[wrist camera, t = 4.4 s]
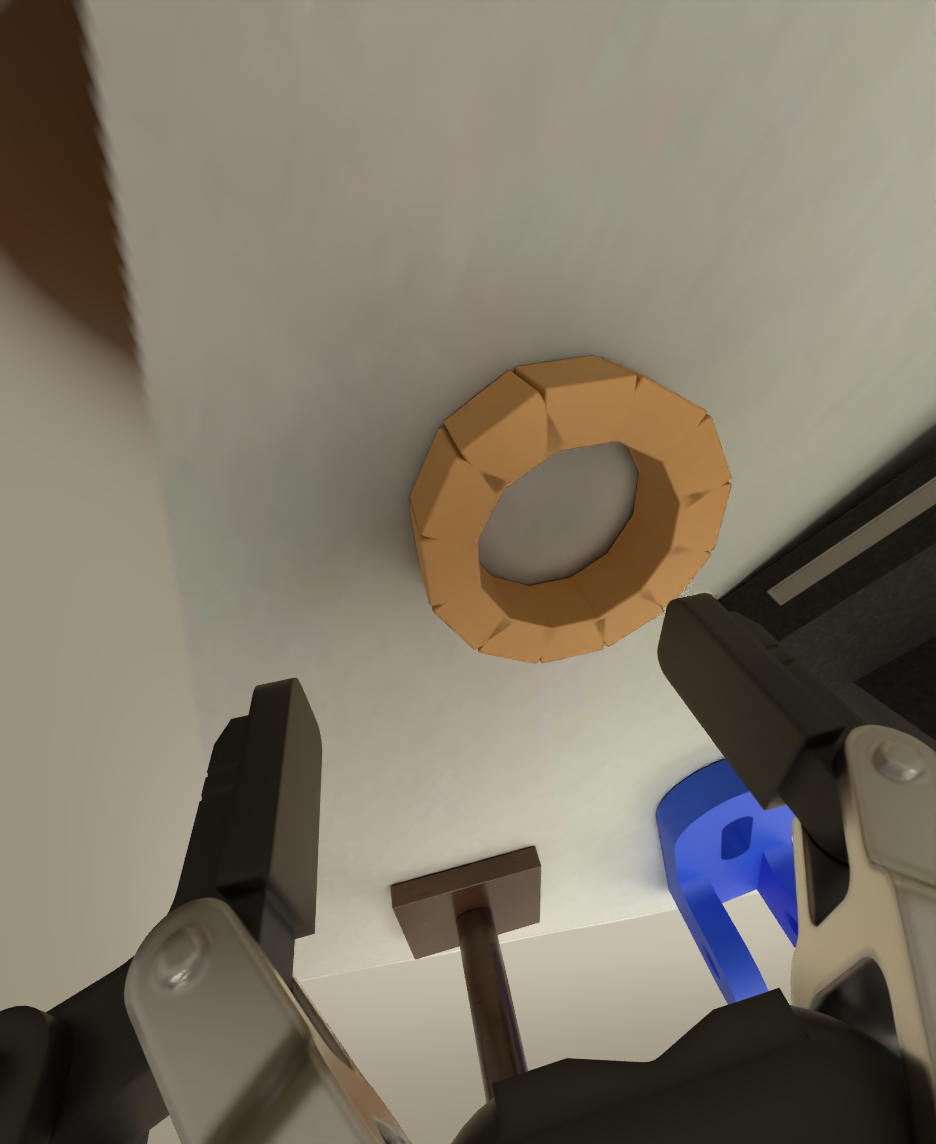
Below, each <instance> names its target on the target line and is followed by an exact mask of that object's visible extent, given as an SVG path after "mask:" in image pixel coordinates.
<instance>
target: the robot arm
mask: <svg viewBox="0 0 936 1144" xmlns="http://www.w3.org/2000/svg"><path fill="white" fill-rule="evenodd" d="M657 653H658V660H659V664H660V667H661V669H662V671H663V673H664V675H665V676H666V678H667V679H668V681H669V682H670V683H671V685H672V686H673V687H674V689H675V690H676V691H677V693H678V694H679V696H680V697H681V698H682V700H683V701H684V702H685V704H686V705H687V706H688V708H689V709H690V711H691V712H692V713H693V715H694V716H695V717H696V719H697V720H698V721H699V723H700V724H701V726H702V727H703V728H704V730H705V731H706V732H707V734H708V735H709V736H710V738H711V739H712V741H713V742H714V743H715V745H716V746H717V747H718V749H719V750H720V751H721V753H722V754H723V756H724V757H725V758H726V760H727V761H728V762H729V764H730V765H731V766H732V768H733V769H734V771H735V772H736V773H737V775H738V776H739V777H740V779H741V780H742V781H743V783H744V784H745V785H746V787H747V788H748V790H749V791H750V792H751V794H752V795H753V796H754V798H755V799H756V800H757V802H758V803H759V805H760V806H761V807H762V809H763V810H764V811H766V810H770V809H774V808H777V807H781V806H784V805H787V806H788V807H789V808H790V810H791V811H792V812H793V814H794V815H795V817H794V819H793V822H792V836H793V850H794V865H795V880H796V894H797V909H798V939H797V944H796V947H795V950H794V954H793V959H792V966H791V1004H792V1005H789V1003H788V1002H787V1000H786V998H785V997H784V995H783V993H782V991H781V990H780V988H777V989H774V990H771V991H768V992H765V993H762V994H759V995H756V996H753V997H750V998H747V999H744V1000H741V1001H738V1002H735V1003H732V1004H729V1005H726V1006H723V1007H720V1008H717V1009H714V1010H712V1011H711V1012H710V1013H709V1014H708V1015H707V1016H706V1017H704V1018H703V1019H702V1020H701V1021H700V1022H699V1023H698V1024H696V1025H695V1026H694V1027H693V1028H692V1029H691V1030H689V1031H688V1032H687V1033H686V1034H685V1035H684V1036H683V1037H681V1038H680V1039H679V1040H678V1041H677V1042H676V1043H675V1044H673V1045H672V1046H671V1047H670V1048H669V1049H668V1050H667V1051H665V1052H664V1053H663V1054H662V1055H661V1056H660V1057H658V1058H657V1059H656V1060H653V1061H650V1062H626V1061H608V1060H590V1059H572V1058H571V1059H570V1058H566V1059H563V1060H560V1061H557V1062H554V1063H552V1064H548V1065H545V1066H542V1067H539V1068H536V1069H533V1070H530V1071H527V1072H524V1073H521V1074H518V1075H515V1076H512V1077H509V1078H506V1079H503V1080H500V1081H497V1082H494V1083H492V1086H493V1092H494V1098H492V1099H491V1100H490V1101H489V1102H487V1103H486V1104H485V1105H484V1106H483V1107H482V1108H480V1109H479V1110H478V1111H477V1112H476V1114H474V1115H473V1116H472V1118H471V1119H470V1120H469V1121H468V1122H467V1123H466V1124H465V1125H464V1127H463V1128H462V1129H461V1131H460V1132H459V1133H458V1135H457V1136H456V1138H455V1139H454V1140H453V1142H452V1143H451V1144H936V750H933V749H931V748H930V747H929V746H927V745H926V744H925V743H923V742H921V741H920V740H918V739H916V738H915V737H913V736H911V735H909V734H906V733H904V732H902V731H899V730H896V729H893V728H890V727H885V726H879V725H869V724H867V723H866V722H865V721H864V720H862V719H861V718H860V717H859V716H858V715H857V714H856V713H855V712H854V711H852V710H851V709H850V708H849V707H848V706H847V705H846V704H845V703H844V702H843V701H842V700H841V699H840V698H838V697H837V696H836V695H835V694H834V693H833V692H832V691H831V690H830V689H829V688H828V687H827V686H826V685H824V684H823V683H822V682H821V681H820V680H819V679H818V678H817V677H816V676H815V675H814V674H813V673H812V672H810V671H809V670H808V669H807V668H806V667H805V666H804V665H803V664H802V663H801V662H800V661H799V662H797V661H796V660H795V657H794V656H793V655H792V654H791V653H790V652H789V651H788V650H787V649H786V648H785V647H784V646H782V647H781V646H780V645H779V642H778V641H777V640H776V639H775V638H774V637H773V636H772V635H771V634H770V633H768V632H767V631H766V630H765V629H764V628H763V627H762V626H761V625H760V624H758V623H756V622H754V621H752V620H751V619H749V618H747V617H745V616H743V615H741V614H739V613H738V612H736V611H732V612H728V611H727V610H726V609H725V608H724V607H723V606H722V605H721V604H720V603H719V602H718V601H717V600H716V599H715V598H714V597H713V596H711V595H710V594H707V593H702V594H697V595H692V596H687V597H683V598H678V599H673V600H671V601H670V602H669V603H668V605H667V608H666V613H665V617H664V622H663V626H662V631H661V635H660V640H659V644H658V652H657ZM321 767H322V743H321V735H320V731H319V727H318V724H317V721H316V719H315V716H314V714H313V712H312V709H311V707H310V705H309V702H308V700H307V698H306V695H305V693H304V691H303V688H302V686H301V684H300V682H299V680H298V679H297V678H291V679H286V680H281V681H277V682H272V683H267V684H262V685H257V686H256V687H255V689H254V691H253V696H252V701H251V706H250V711H249V715H247V716H243V717H238V718H233V719H231V720H230V722H229V723H228V725H227V726H226V728H225V729H224V731H223V732H222V734H221V735H220V737H219V738H218V740H217V741H216V743H215V744H214V747H213V751H212V755H211V759H210V763H209V767H208V771H207V773H208V777H206V778H205V782H204V786H203V790H202V801H200V802H199V806H198V810H197V814H196V818H195V822H194V826H193V830H192V833H191V838H190V842H189V845H188V849H187V853H186V857H185V861H184V865H183V869H182V873H181V877H180V881H179V885H178V889H177V892H176V896H175V898H174V901H173V904H172V906H171V908H170V910H169V912H168V914H167V916H165V917H164V918H163V919H162V920H161V921H160V922H159V923H158V924H157V925H156V926H155V927H154V928H153V929H152V930H151V932H150V933H149V934H148V935H147V936H146V938H145V939H144V941H143V942H142V944H141V945H140V947H139V949H138V950H137V952H136V954H135V956H133V957H132V958H131V959H129V960H128V961H127V962H126V963H124V964H123V965H122V966H120V967H119V968H117V969H116V970H114V971H113V972H111V973H109V974H108V975H106V976H104V977H103V978H101V979H100V980H98V981H96V982H95V983H93V984H91V985H90V986H88V987H87V988H85V989H83V990H82V991H80V992H78V993H77V994H75V995H74V996H72V997H70V998H69V999H67V1000H65V1001H64V1002H62V1003H61V1004H59V1005H57V1006H56V1007H54V1008H52V1009H51V1010H49V1011H47V1012H46V1013H45V1012H43V1011H40V1010H38V1009H36V1008H33V1007H29V1006H16V1007H12V1008H8V1009H5V1010H2V1011H0V1144H147V1140H148V1135H149V1130H150V1129H151V1128H153V1127H154V1126H155V1125H157V1124H158V1123H159V1122H161V1121H162V1120H163V1119H165V1118H166V1117H167V1116H168V1115H170V1117H171V1119H172V1122H173V1124H174V1126H175V1129H176V1131H177V1134H178V1136H179V1139H180V1141H181V1143H182V1144H412V1143H411V1141H410V1140H409V1138H408V1137H407V1135H406V1134H405V1132H404V1131H403V1129H402V1128H401V1127H400V1125H399V1124H398V1122H397V1121H396V1119H395V1118H394V1116H393V1115H392V1113H391V1112H390V1111H389V1109H388V1108H387V1106H386V1105H385V1104H384V1102H383V1101H382V1100H381V1098H380V1097H379V1096H378V1094H377V1093H376V1092H375V1090H374V1089H373V1088H372V1086H371V1085H370V1084H369V1083H368V1082H367V1080H366V1079H365V1078H364V1077H363V1075H362V1074H361V1072H360V1071H359V1069H358V1068H357V1067H356V1065H355V1064H354V1062H353V1061H352V1060H351V1058H350V1056H349V1055H348V1053H347V1052H346V1051H345V1049H344V1048H343V1046H342V1045H341V1043H340V1042H339V1040H338V1039H337V1037H336V1036H335V1034H334V1033H333V1031H332V1030H331V1028H330V1027H329V1025H328V1024H327V1023H326V1021H325V1020H324V1018H323V1017H322V1015H321V1014H320V1012H319V1011H318V1009H317V1008H316V1006H315V1005H314V1004H313V1002H312V1001H311V999H310V998H309V996H308V995H307V993H306V992H305V991H304V989H303V988H302V986H301V984H300V983H299V981H298V980H297V978H296V977H295V975H294V974H293V957H294V943H295V939H297V938H300V937H304V936H308V935H311V934H315V914H316V890H317V865H318V841H319V816H320V792H321Z"/></svg>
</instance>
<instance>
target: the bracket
mask: <svg viewBox="0 0 936 1144" xmlns="http://www.w3.org/2000/svg"><path fill="white" fill-rule="evenodd" d="M656 817H657V824H658V829H659V835H660V841H661V847H662V853H663V859H664V864H665V870H666V876H667V882H668V888H669V891H670V893H671V895H672V897H673V899H674V901H675V903H676V905H677V907H678V909H679V911H680V913H681V914H682V916H683V918H684V920H685V922H686V924H687V926H688V928H689V930H690V932H691V934H692V936H693V938H694V940H695V942H696V944H697V946H698V948H699V950H700V952H701V954H702V956H703V958H704V960H705V962H706V963H707V966H708V968H709V970H710V972H711V973H712V975H713V977H714V979H715V981H716V983H717V985H718V987H719V989H720V991H721V992H722V994H723V996H724V998H725V1000H726V1001H727V1003H728V1005H729V1004H732V1003H735V1002H738V1001H741V1000H744V999H747V998H750V997H753V996H756V995H759V994H762V993H765V992H768V989H767V987H766V984H765V982H764V980H763V978H762V976H761V974H760V971H759V969H758V967H757V965H756V964H755V962H754V960H753V958H752V956H751V954H750V952H749V950H748V948H747V947H746V945H745V943H744V941H743V939H742V938H741V936H740V934H739V932H738V931H737V929H736V927H735V925H734V924H733V922H732V920H731V919H730V917H729V915H728V913H727V912H726V910H725V908H724V906H723V905H722V903H723V902H726V901H728V900H731V899H733V898H736V897H738V896H741V895H743V894H746V893H748V892H751V891H753V890H756V889H757V890H758V892H759V893H760V895H761V896H762V898H763V899H764V901H765V902H766V904H767V905H768V907H769V909H770V910H771V912H772V913H773V915H774V916H775V918H776V919H777V921H778V923H779V924H780V926H781V927H782V929H783V930H784V932H785V934H786V935H787V937H788V938H789V940H790V941H791V943H792V944H793V946H794V947H796V944H797V939H798V909H797V894H796V880H795V865H794V850H793V843H792V822H793V819H794V817H795V815H794V814H793V812H792V811H791V810H790V808H789V807H788V806H787V805H784V806H781V807H777V808H774V809H770V810H766V811H764V810H763V809H762V807H761V806H760V805H759V803H758V802H757V800H756V799H755V798H754V796H753V795H752V794H751V792H750V791H749V790H748V788H747V787H746V785H745V784H744V783H743V781H742V780H741V779H740V777H739V776H738V775H737V773H736V772H735V771H734V769H733V768H732V766H731V765H730V764H729V762H728V761H727V760H726V759H725V760H722V761H719V762H717V763H714V764H712V765H710V766H707V767H705V768H703V769H701V770H699V771H698V772H696V773H694V774H692V775H691V776H689V777H688V778H686V779H685V780H684V781H682V782H681V783H679V784H678V785H677V786H676V787H675V788H674V789H672V790H671V791H670V792H669V793H668V794H667V796H666V797H665V798H664V799H663V801H662V802H661V804H660V805H659V807H658V810H657V814H656Z"/></svg>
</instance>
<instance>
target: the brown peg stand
mask: <svg viewBox="0 0 936 1144" xmlns="http://www.w3.org/2000/svg"><path fill="white" fill-rule="evenodd" d="M540 888H541V864H540V861H539V858H538V855H537V851H536V848H535V847H531V848H527V849H523V850H520V851H516V852H513V853H509V854H505V855H502V856H498V857H495V858H491V859H487V860H484V861H480V862H477V863H473V864H469V865H466V866H462V867H459V868H455V869H451V870H448V871H444V872H441V873H437V874H433V875H430V876H426V877H423V878H419V879H415V880H412V881H408V882H405V883H401V884H397V885H394V886H391V897H392V908H393V910H394V913H395V915H396V917H397V919H398V922H399V924H400V926H401V928H402V931H403V933H404V935H405V938H406V940H407V942H408V944H409V947H410V949H411V951H412V953H413V956H414V958H415V959H419V958H422V957H425V956H429V955H432V954H435V953H439V952H442V951H445V950H449V949H452V948H455V947H459V946H460V950H461V956H462V961H463V968H464V973H465V978H466V985H467V991H468V997H469V1003H470V1009H471V1015H472V1021H473V1026H474V1032H475V1038H476V1044H477V1050H478V1056H479V1062H480V1068H481V1074H482V1079H483V1085H484V1090H485V1097H486V1103H487V1102H489V1101H490V1100H491V1099H492V1098H494V1092H493V1086H492V1083H494V1082H497V1081H500V1080H503V1079H506V1078H509V1077H512V1076H515V1075H518V1074H521V1073H524V1072H527V1071H528V1068H527V1063H526V1059H525V1055H524V1051H523V1046H522V1042H521V1037H520V1033H519V1028H518V1024H517V1019H516V1015H515V1010H514V1006H513V1002H512V997H511V993H510V989H509V984H508V979H507V975H506V971H505V966H504V962H503V957H502V953H501V949H500V944H499V940H498V935H499V934H502V933H505V932H509V931H512V930H515V929H519V928H522V927H525V926H529V925H532V924H535V923H539V922H540Z"/></svg>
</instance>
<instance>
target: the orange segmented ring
mask: <svg viewBox="0 0 936 1144" xmlns="http://www.w3.org/2000/svg"><path fill="white" fill-rule="evenodd" d="M706 413H707V412H706V410H705V409H703V408H701V407H699V406H698V405H696V404H694V403H692V402H690V401H689V400H687V399H685V398H683V397H681V396H680V395H678V394H676V393H674V392H672V391H671V390H669V389H667V388H665V387H663V386H662V385H660V384H658V383H656V382H654V381H653V380H651V379H649V378H647V377H645V376H643V375H641V374H639V373H637V372H634V371H632V370H630V369H628V368H625V367H623V366H621V365H619V364H616V363H614V362H612V361H610V360H607V359H605V358H598V357H596V356H587V357H580V358H573V359H566V360H558V361H551V362H544V363H537V364H530V365H522V366H517V367H516V374H514V373H513V372H512V371H507V372H506V373H505V374H503V375H502V376H501V377H500V378H498V379H497V380H496V381H495V382H493V383H492V384H491V385H489V386H488V387H487V388H486V389H484V390H483V391H482V392H481V393H479V394H478V395H477V396H475V397H474V398H473V399H472V400H470V401H469V402H468V403H467V404H465V405H464V406H463V407H462V408H460V409H459V410H458V411H456V412H455V413H454V414H453V415H451V416H450V417H449V418H448V419H446V420H445V421H444V425H445V427H446V428H447V430H445V429H443V428H440V429H439V430H438V431H437V434H436V436H435V438H434V441H433V443H432V446H431V448H430V450H429V453H428V455H427V457H426V460H425V462H424V465H423V467H422V469H421V472H420V474H419V476H418V479H417V481H416V484H415V486H414V488H413V491H412V493H411V501H412V502H411V503H410V505H409V507H410V513H411V519H412V524H413V530H414V536H415V542H416V548H417V554H418V559H419V564H420V569H421V573H422V577H423V581H424V585H425V589H426V593H427V597H428V601H429V604H430V605H431V606H432V610H433V612H434V613H435V614H436V615H437V616H438V617H439V618H440V619H442V620H443V621H444V622H445V623H446V624H447V625H448V626H449V627H450V628H451V629H452V630H453V631H454V632H456V633H457V634H458V635H459V636H460V637H461V638H462V639H463V640H464V641H465V642H466V643H467V644H468V645H469V646H471V647H472V648H473V649H474V650H476V649H478V651H479V652H480V653H484V654H489V655H494V656H499V657H504V658H509V659H515V660H520V661H525V662H530V663H535V664H536V663H538V661H539V660H540V661H541V663H546V662H551V661H555V660H559V659H564V658H568V657H573V656H577V655H582V654H586V653H590V652H595V651H599V650H603V646H604V644H605V645H606V646H611V645H612V644H614V643H615V642H617V641H619V640H620V639H622V638H623V637H625V636H627V635H628V634H630V633H631V632H633V631H634V630H636V629H638V628H639V627H641V626H642V625H644V624H646V623H647V622H649V621H650V620H652V619H654V618H655V617H657V616H658V615H660V614H661V613H663V612H664V610H663V608H662V606H664V607H667V605H668V603H669V602H670V601H671V600H673V599H676V598H677V597H678V596H679V595H680V593H681V592H682V591H683V590H684V588H685V587H686V586H687V585H688V583H689V582H690V581H691V580H692V578H693V577H694V576H695V575H696V573H697V572H698V571H699V569H700V568H701V567H702V566H703V564H704V563H705V562H706V561H707V559H708V558H709V557H710V556H711V554H710V552H709V550H713V549H714V548H715V545H716V541H717V537H718V534H719V530H720V526H721V523H722V519H723V515H724V511H725V508H726V504H727V500H728V497H729V493H730V489H731V483H729V482H728V481H729V480H731V478H732V477H731V474H730V471H729V468H728V465H727V462H726V459H725V456H724V453H723V450H722V447H721V444H720V441H719V438H718V435H717V432H716V429H715V426H714V423H713V420H712V417H711V416H710V415H708V414H706ZM615 441H617V442H619V443H621V444H623V445H626V446H627V448H628V450H629V452H630V454H631V456H632V458H633V460H634V462H635V464H636V466H637V468H638V470H639V477H638V484H637V491H636V498H635V505H634V512H633V516H632V517H631V519H630V520H629V522H628V523H627V525H626V526H625V528H624V529H623V531H622V532H621V534H620V535H619V537H618V538H617V540H616V541H615V543H614V544H613V545H612V547H611V548H610V550H609V551H608V553H607V554H605V555H604V556H602V557H601V558H599V559H598V560H596V561H595V562H593V563H592V564H590V565H589V566H587V567H586V568H584V569H583V570H581V571H580V572H578V573H577V574H575V575H574V576H572V577H570V578H565V579H561V580H556V581H551V582H546V583H541V584H536V585H531V586H527V585H524V584H520V583H516V582H513V581H509V580H505V579H502V578H498V577H494V576H491V575H490V574H489V573H488V572H487V571H486V570H485V569H484V567H483V566H482V565H481V564H480V561H479V549H478V539H479V537H480V535H481V533H482V531H483V529H484V527H485V525H486V523H487V521H488V520H489V518H490V516H491V514H492V512H493V510H494V508H495V506H496V504H497V502H498V500H499V498H500V496H501V494H502V492H503V491H504V489H506V488H507V487H508V486H510V485H511V484H512V483H514V482H515V481H516V480H518V479H519V478H521V477H522V476H523V475H525V474H526V473H527V472H529V471H530V470H531V469H533V468H534V467H535V466H537V465H538V464H540V463H541V462H542V461H544V460H545V459H546V458H548V457H549V456H550V455H552V454H553V453H555V452H556V451H561V450H567V449H573V448H579V447H585V446H591V445H597V444H603V443H609V442H615Z"/></svg>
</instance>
